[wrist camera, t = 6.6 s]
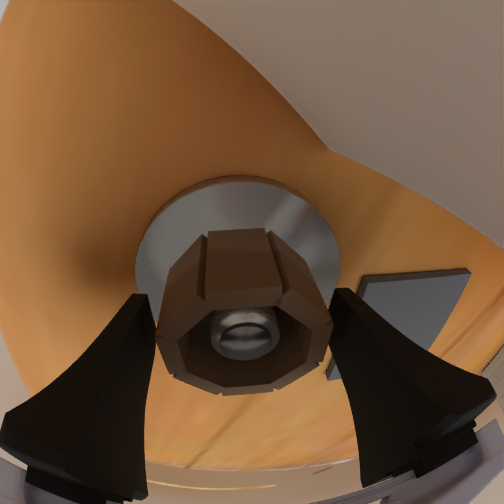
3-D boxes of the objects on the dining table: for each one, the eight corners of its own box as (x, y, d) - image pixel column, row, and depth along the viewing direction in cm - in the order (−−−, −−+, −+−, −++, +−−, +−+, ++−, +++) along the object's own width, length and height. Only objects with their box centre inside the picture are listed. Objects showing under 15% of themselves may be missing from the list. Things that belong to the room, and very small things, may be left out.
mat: (466, 268, 15) (471, 273, 14) (418, 354, 19) (421, 359, 19) (363, 276, 14) (367, 283, 13) (325, 374, 18) (327, 380, 18)
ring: (298, 328, 14) (315, 385, 11) (183, 337, 13) (179, 396, 10) (311, 225, 11) (344, 280, 8) (160, 234, 10) (139, 294, 7)
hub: (349, 180, 11) (405, 227, 7) (314, 332, 16) (334, 392, 12) (126, 179, 10) (81, 228, 6) (157, 337, 15) (147, 402, 11)
